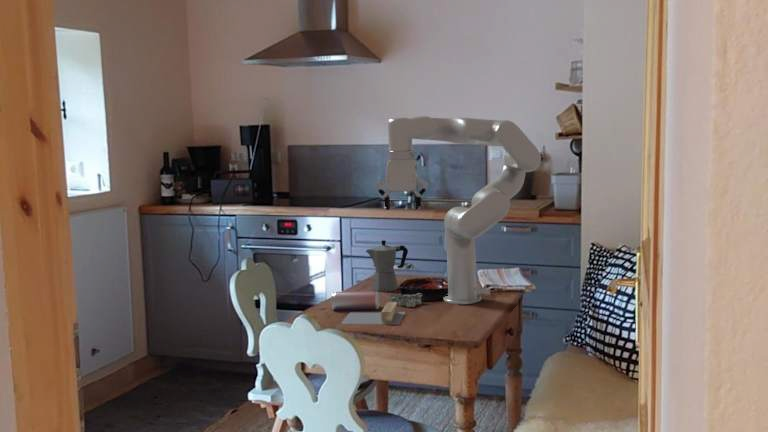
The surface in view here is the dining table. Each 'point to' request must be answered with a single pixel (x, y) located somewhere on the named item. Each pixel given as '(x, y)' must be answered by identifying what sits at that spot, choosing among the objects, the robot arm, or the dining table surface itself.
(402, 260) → the coffeepot
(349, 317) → the mat
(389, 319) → the block
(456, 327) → the dining table surface
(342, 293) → the beverage can
